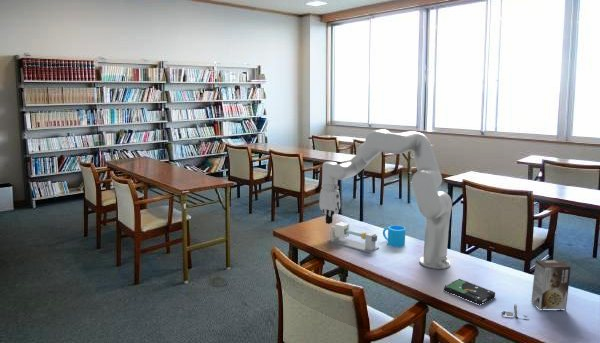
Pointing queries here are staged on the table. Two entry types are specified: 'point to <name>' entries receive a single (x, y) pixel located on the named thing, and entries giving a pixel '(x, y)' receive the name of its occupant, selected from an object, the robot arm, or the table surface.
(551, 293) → the coffee box
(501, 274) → the table surface
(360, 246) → the cord rig
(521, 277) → the table surface
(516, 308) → the strap clip
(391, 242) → the mug
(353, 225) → the table surface
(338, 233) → the sleeve
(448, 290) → the disk drive
